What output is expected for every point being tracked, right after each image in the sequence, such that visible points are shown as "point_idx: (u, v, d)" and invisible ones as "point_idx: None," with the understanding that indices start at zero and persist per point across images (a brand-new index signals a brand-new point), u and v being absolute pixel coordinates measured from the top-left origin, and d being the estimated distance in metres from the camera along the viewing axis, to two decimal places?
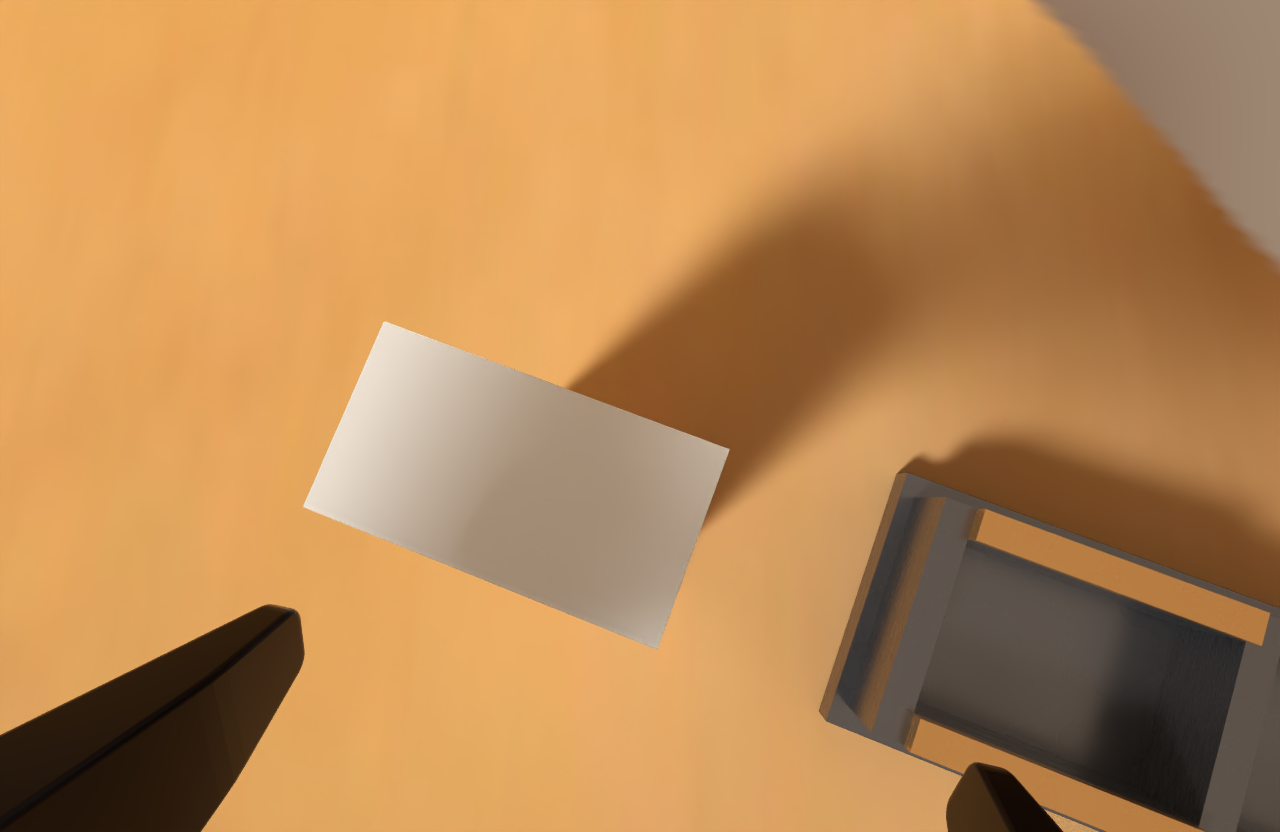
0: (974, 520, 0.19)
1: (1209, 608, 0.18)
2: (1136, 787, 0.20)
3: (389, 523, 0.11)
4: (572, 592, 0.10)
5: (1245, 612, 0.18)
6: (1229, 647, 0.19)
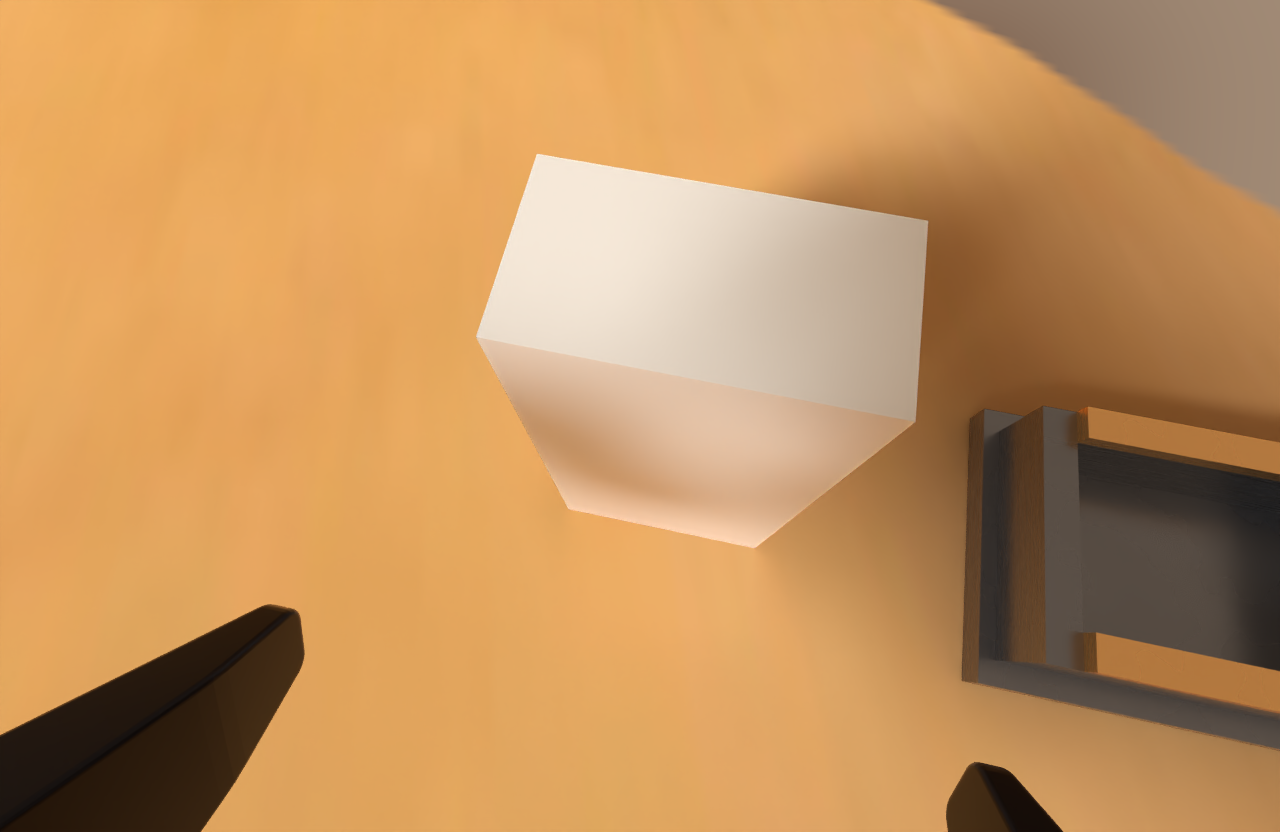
0: (1077, 423, 0.19)
1: None
2: None
3: (579, 339, 0.09)
4: (804, 377, 0.09)
5: None
6: None
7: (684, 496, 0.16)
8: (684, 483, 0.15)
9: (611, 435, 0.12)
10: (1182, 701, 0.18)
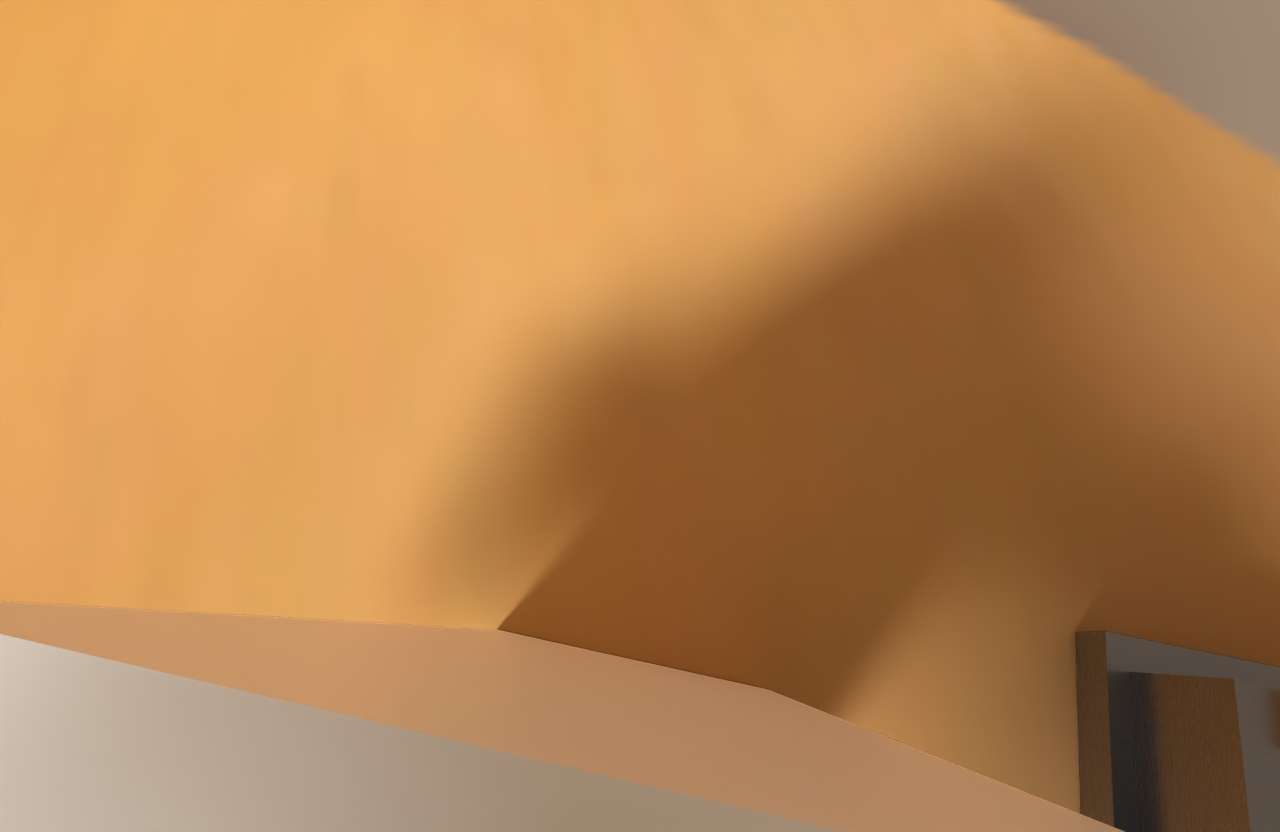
0: None
1: None
2: None
3: None
4: None
5: None
6: None
7: None
8: None
9: None
10: None
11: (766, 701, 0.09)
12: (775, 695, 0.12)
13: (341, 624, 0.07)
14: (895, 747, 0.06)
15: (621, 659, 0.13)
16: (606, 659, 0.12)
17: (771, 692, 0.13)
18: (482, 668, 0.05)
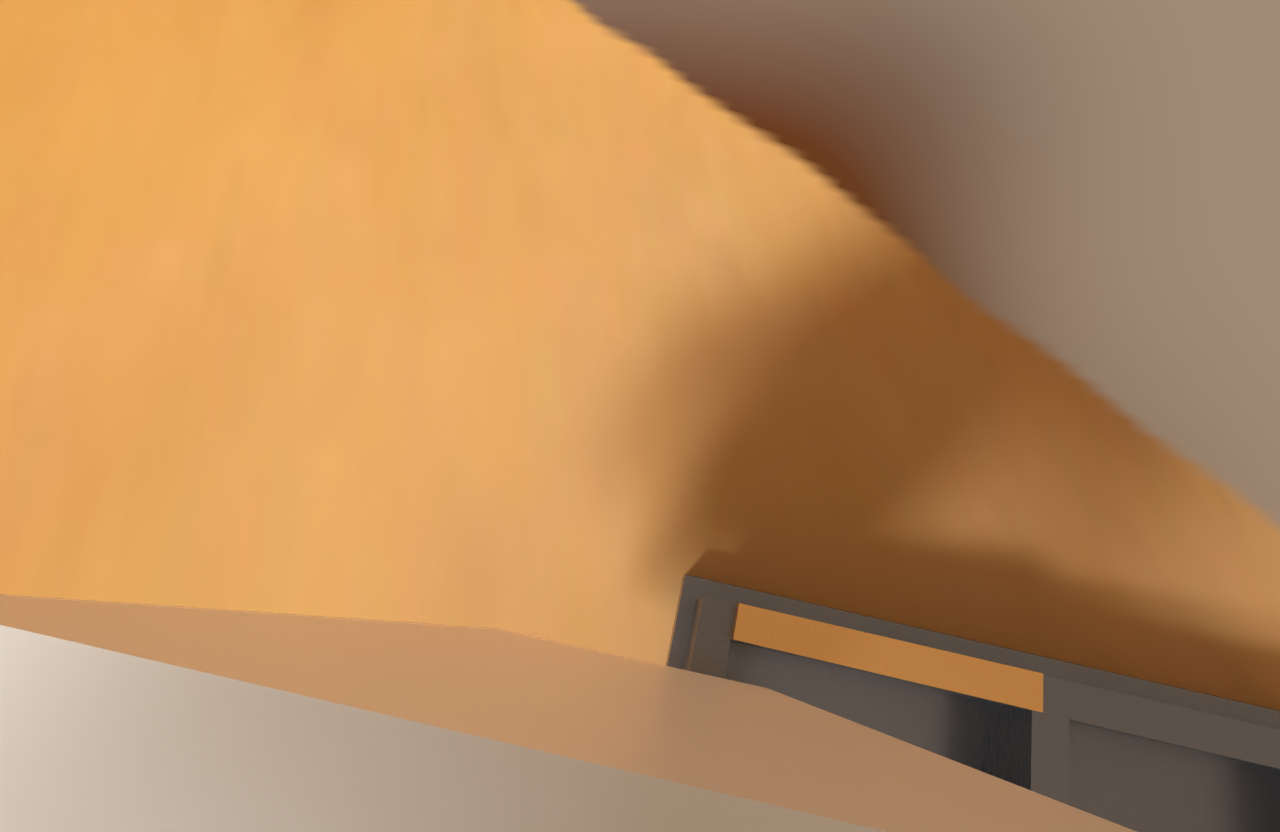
0: (734, 617, 0.18)
1: (982, 678, 0.17)
2: None
3: None
4: None
5: (1018, 676, 0.17)
6: (1021, 719, 0.18)
7: None
8: None
9: None
10: None
11: (765, 699, 0.09)
12: (774, 693, 0.12)
13: (340, 621, 0.07)
14: (892, 743, 0.06)
15: (620, 658, 0.13)
16: (605, 657, 0.12)
17: (770, 691, 0.13)
18: (481, 663, 0.05)
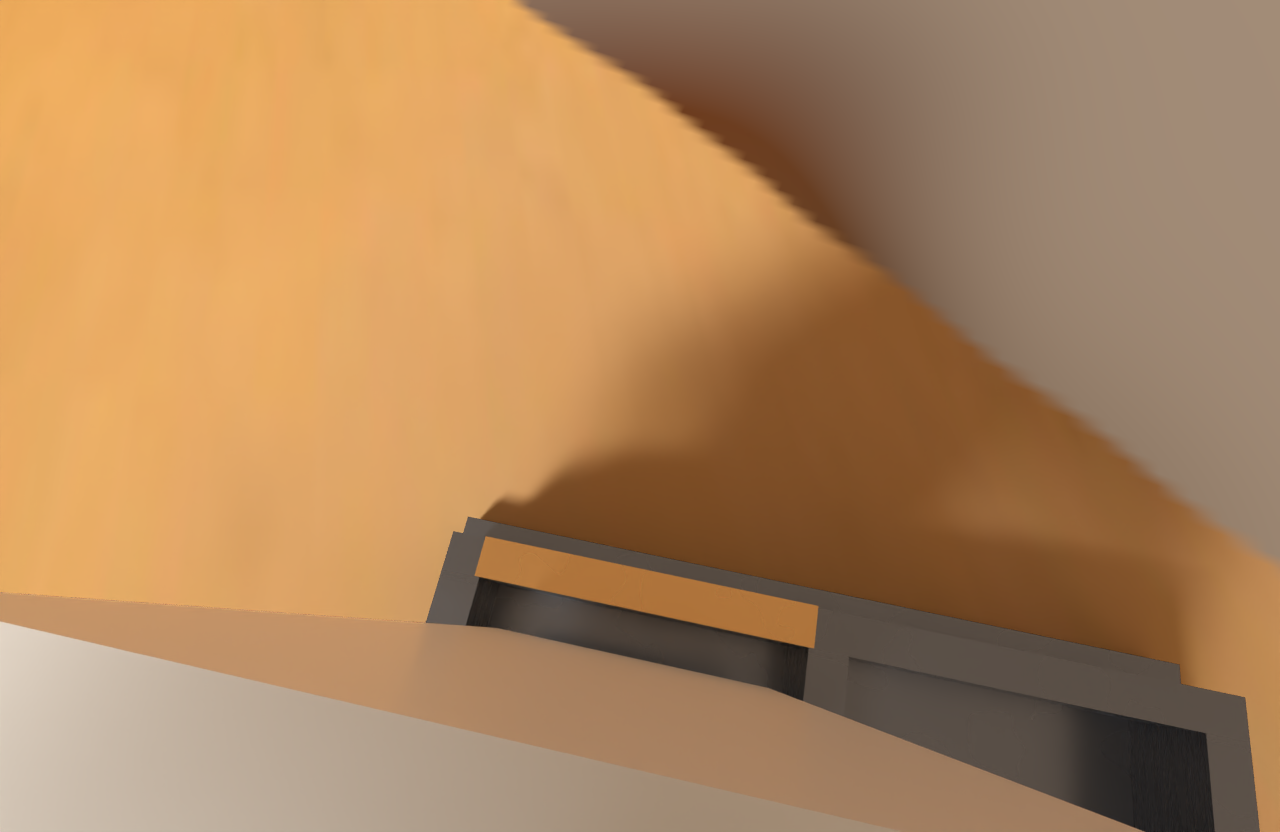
0: None
1: (749, 612, 0.15)
2: None
3: None
4: None
5: (790, 610, 0.15)
6: (802, 659, 0.16)
7: None
8: None
9: None
10: None
11: (766, 698, 0.09)
12: (775, 693, 0.12)
13: (343, 620, 0.07)
14: (895, 743, 0.06)
15: (621, 657, 0.13)
16: (607, 657, 0.12)
17: (771, 690, 0.13)
18: (484, 663, 0.05)
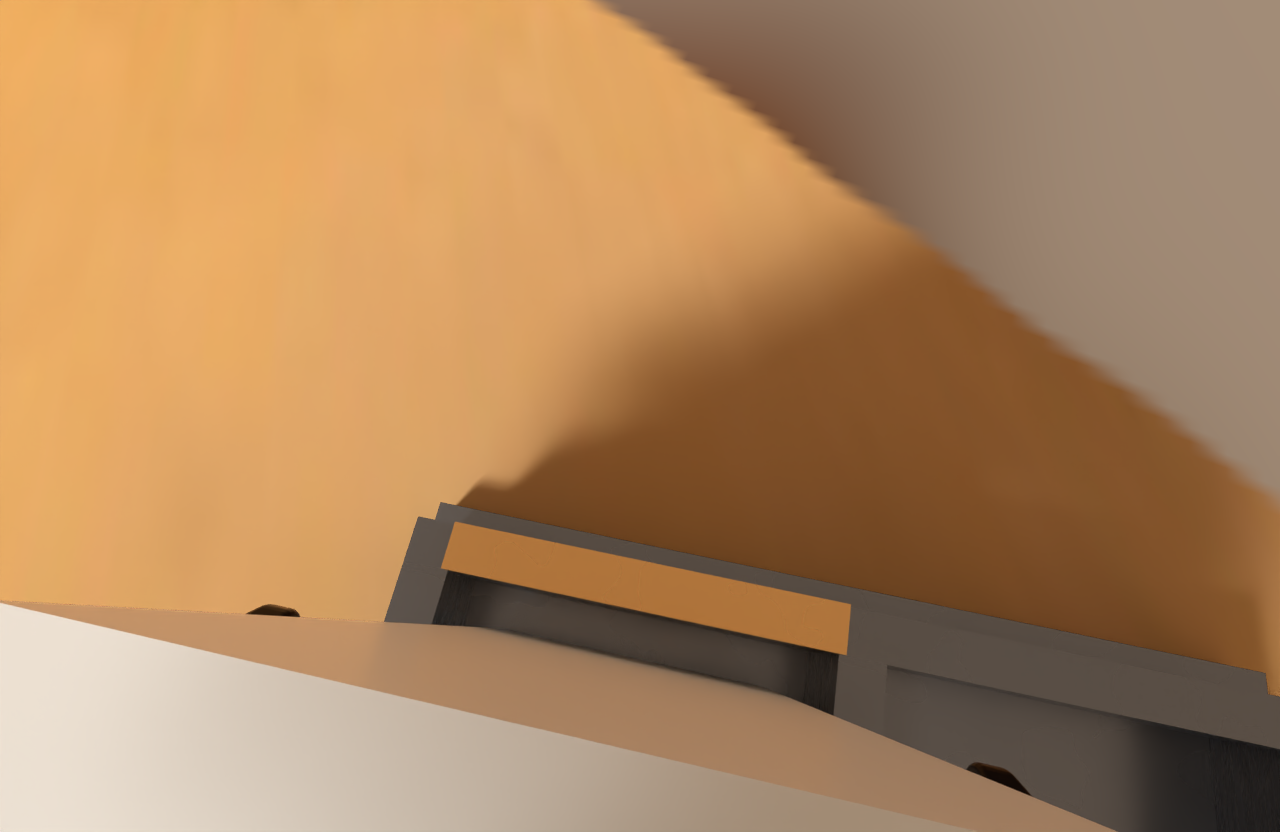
0: None
1: (768, 612, 0.13)
2: None
3: None
4: None
5: (817, 609, 0.13)
6: (831, 667, 0.13)
7: None
8: None
9: None
10: None
11: (757, 696, 0.10)
12: (767, 691, 0.13)
13: (369, 624, 0.07)
14: (869, 736, 0.07)
15: (622, 657, 0.14)
16: (607, 657, 0.12)
17: (764, 689, 0.14)
18: (499, 664, 0.06)
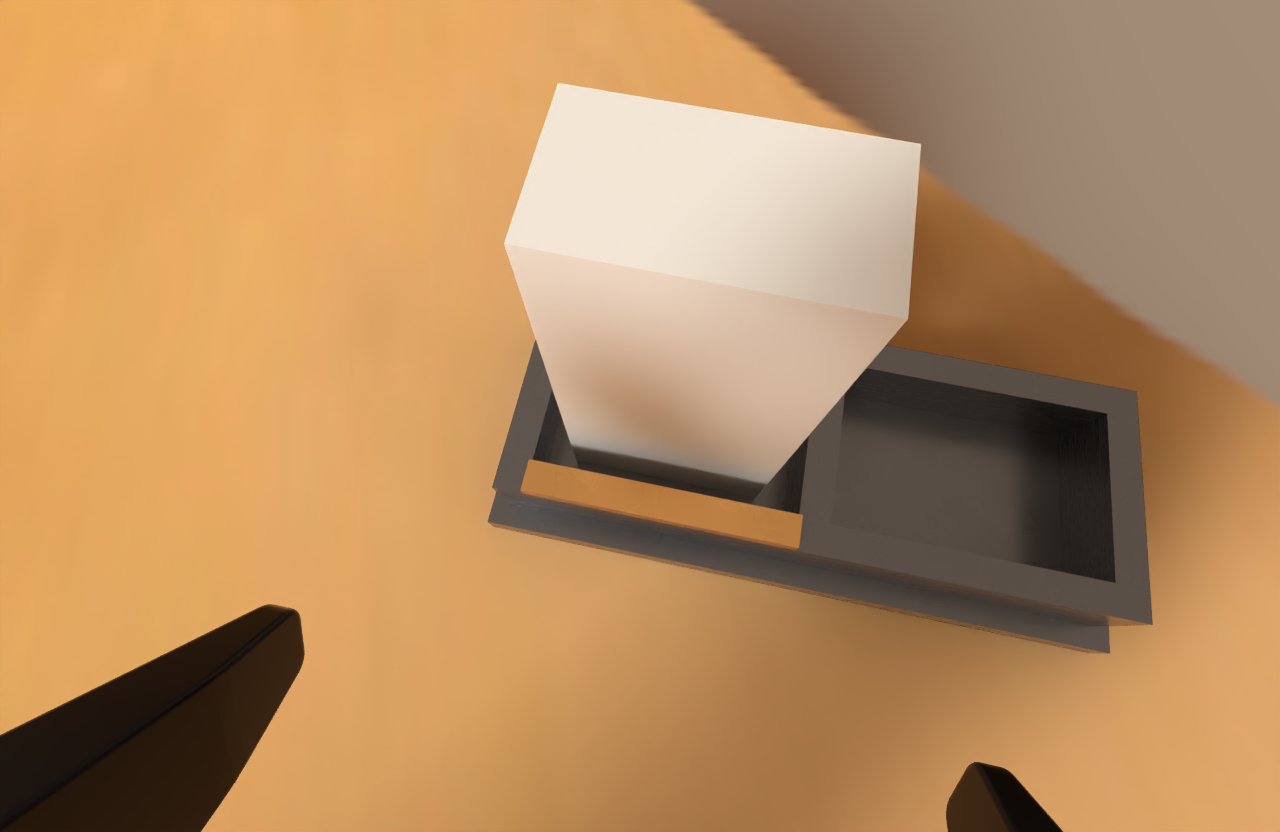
0: None
1: None
2: None
3: (599, 246, 0.10)
4: (806, 280, 0.10)
5: None
6: None
7: (690, 433, 0.17)
8: (691, 416, 0.16)
9: (623, 359, 0.13)
10: (659, 535, 0.21)
11: None
12: None
13: None
14: None
15: None
16: None
17: None
18: None
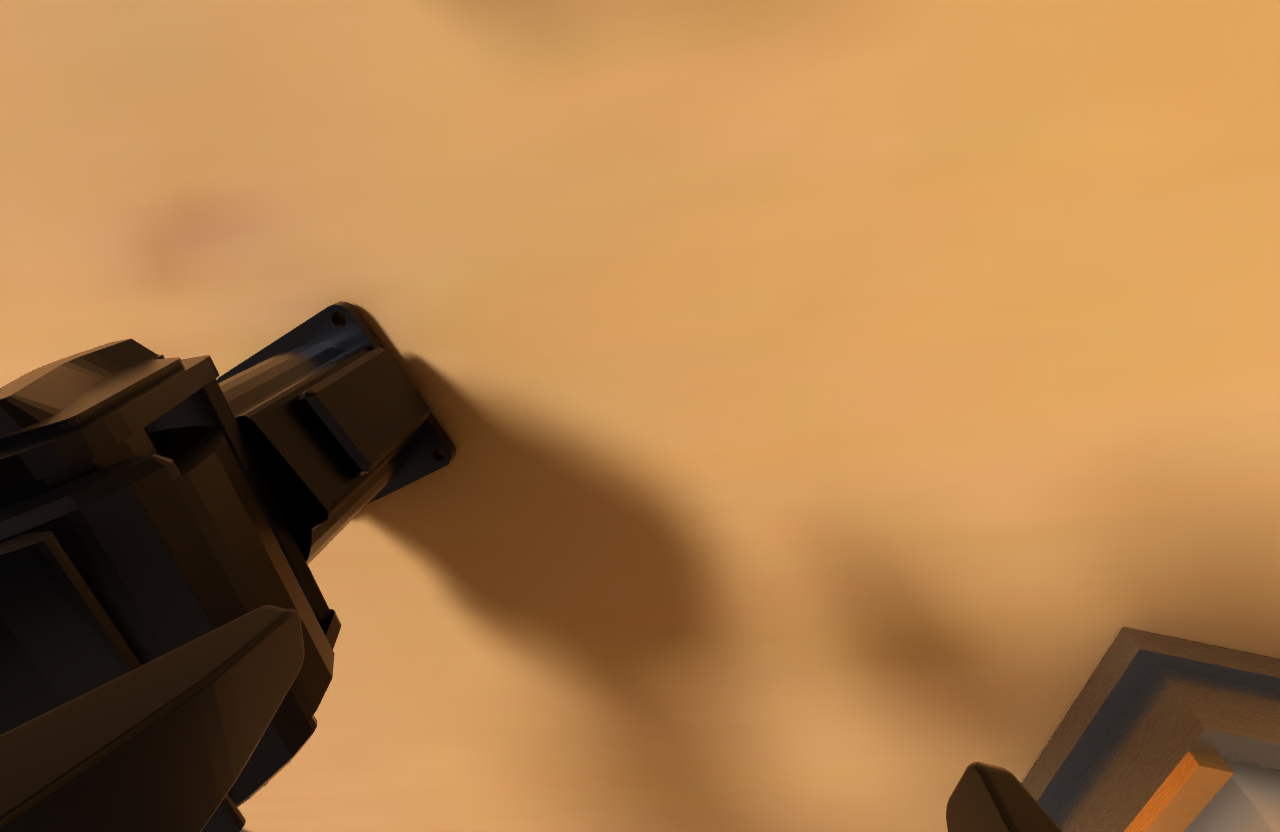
0: None
1: None
2: None
3: None
4: None
5: None
6: None
7: None
8: None
9: None
10: (1083, 770, 0.23)
11: None
12: None
13: None
14: None
15: None
16: None
17: None
18: None
